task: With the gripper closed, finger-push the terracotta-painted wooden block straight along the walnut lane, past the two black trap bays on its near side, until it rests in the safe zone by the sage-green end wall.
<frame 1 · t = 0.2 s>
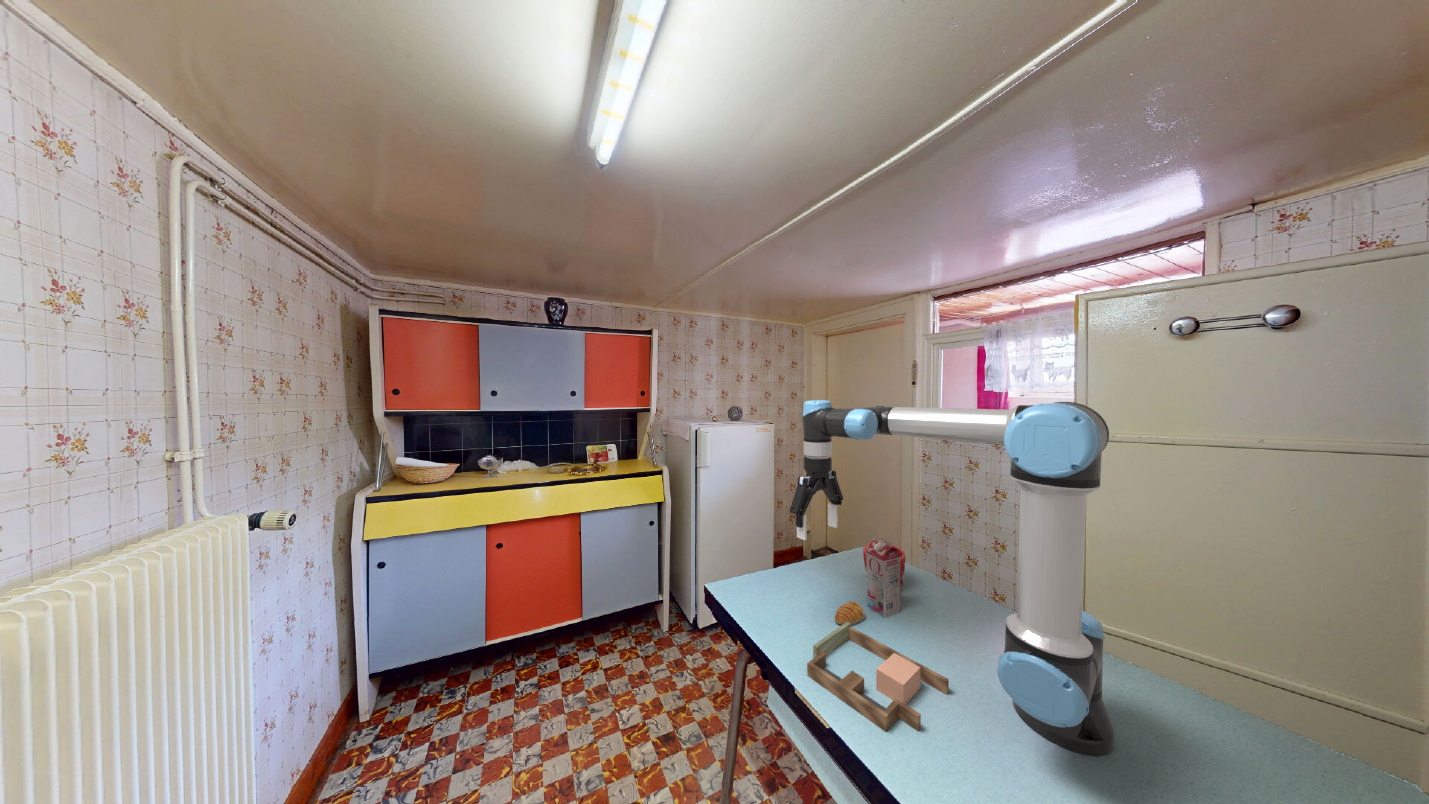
hand: (817, 532, 105), 28 cm above the table, fingers open, 13 cm apart
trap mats: (850, 693, 84), on the table
block: (898, 689, 85), on the table
juice carton: (883, 609, 116), on the table
plant pot: (883, 585, 130), on the table
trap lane: (883, 679, 88), on the table
pastry: (849, 619, 111), on the table
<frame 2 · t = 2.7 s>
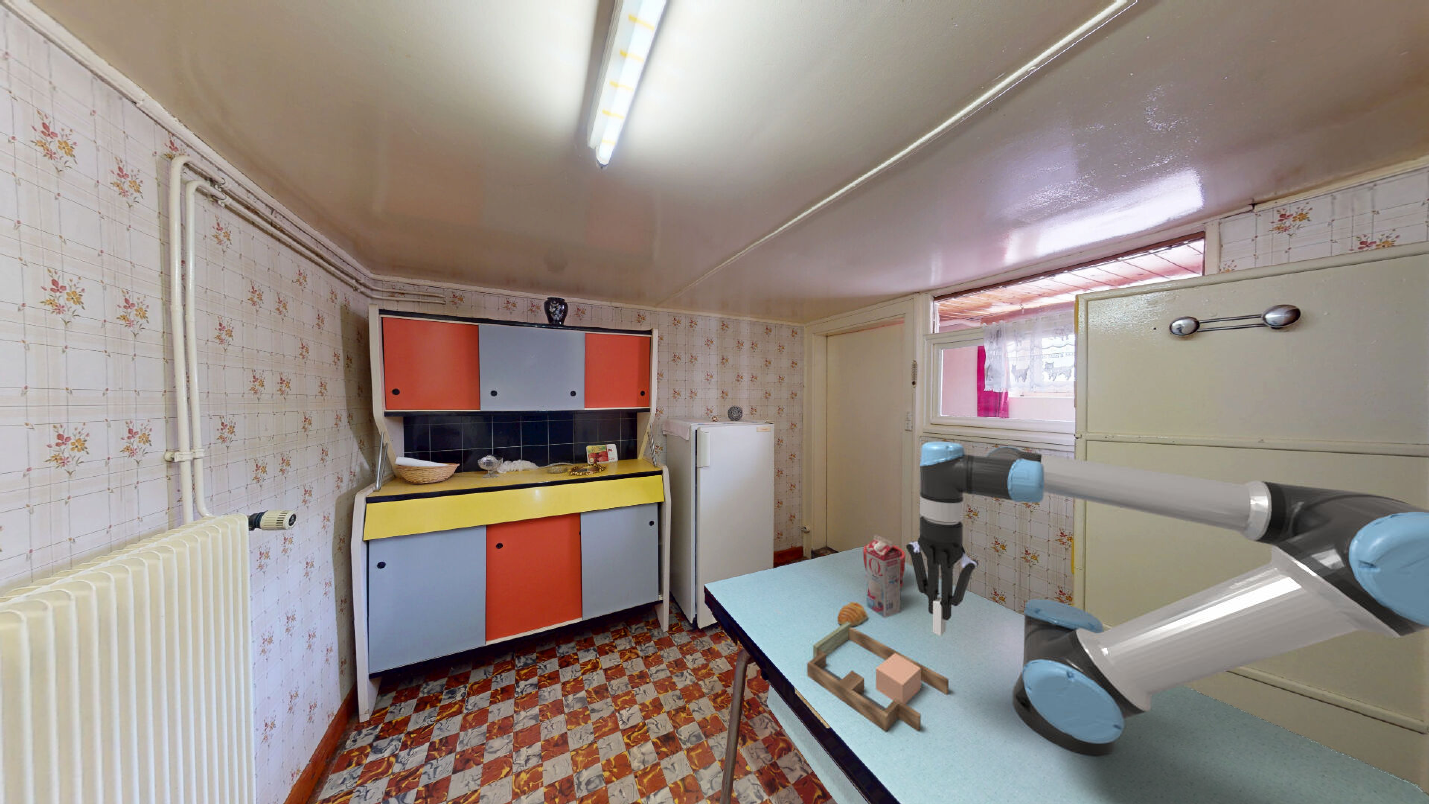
hand: (939, 631, 78), 17 cm above the table, fingers closed
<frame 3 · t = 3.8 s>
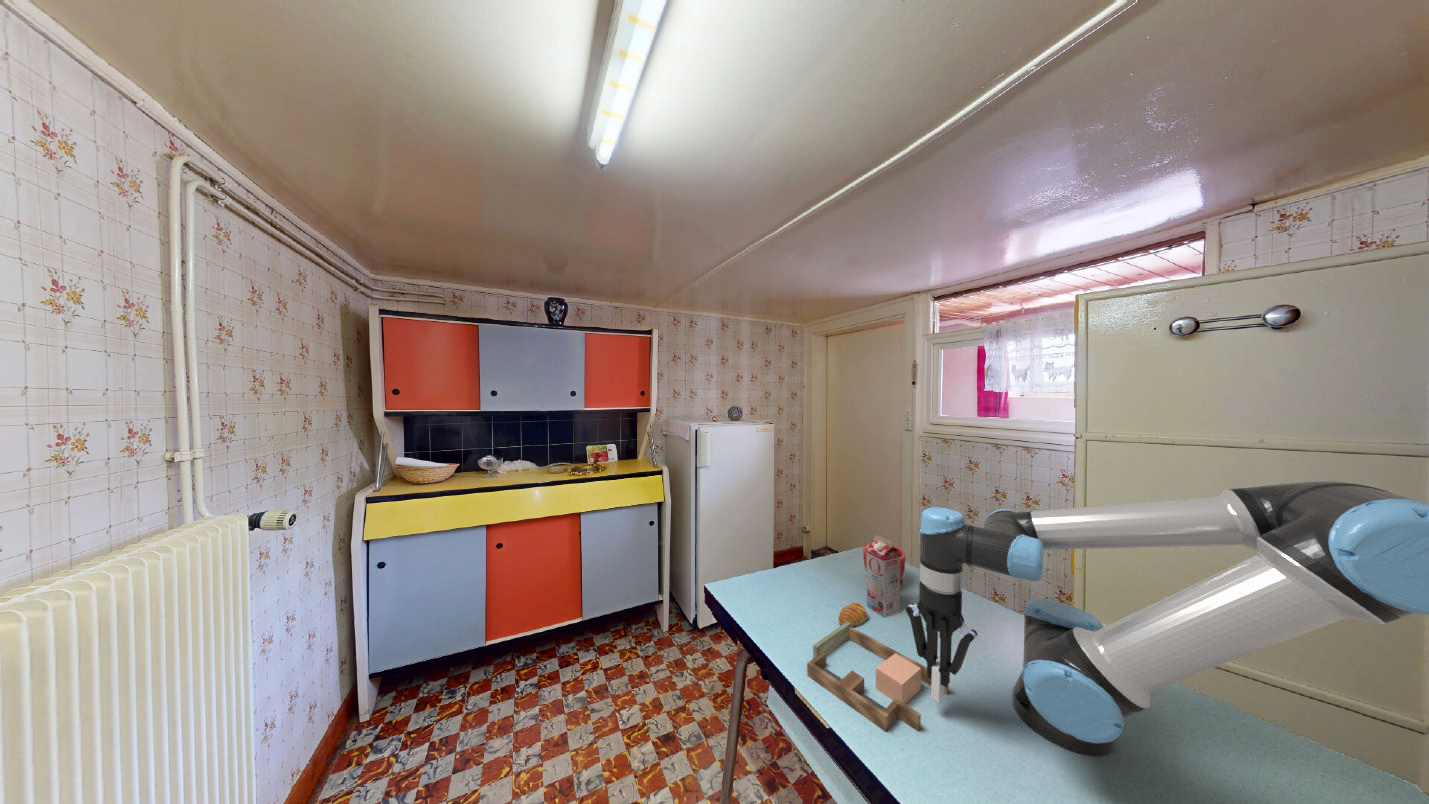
hand: (937, 696, 79), 4 cm above the table, fingers closed
nothing on the table moved.
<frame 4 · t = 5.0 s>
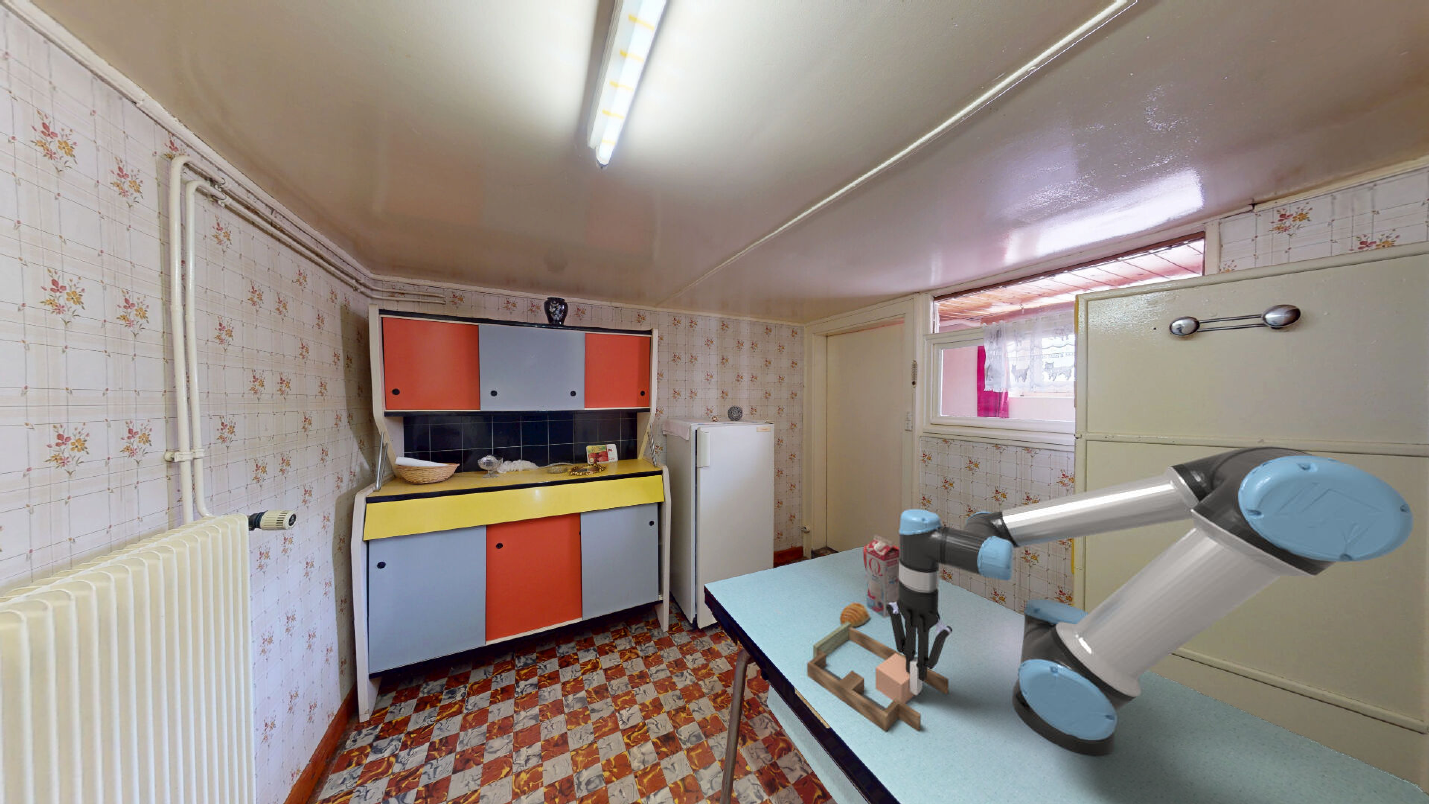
hand: (915, 690, 82), 2 cm above the table, fingers closed
block: (898, 689, 85), on the table, touching gripper
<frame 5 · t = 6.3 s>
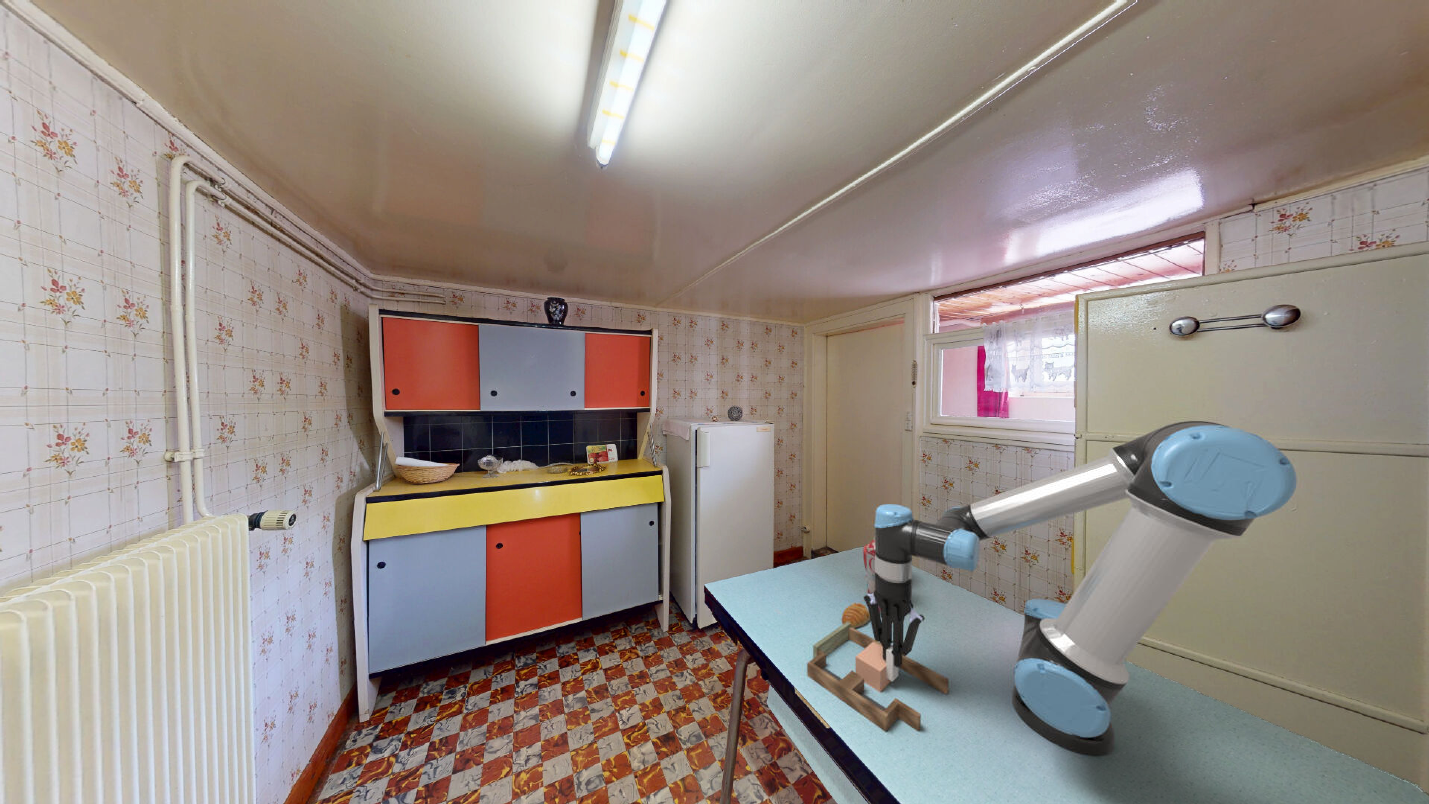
hand: (892, 676, 86), 2 cm above the table, fingers closed
block: (876, 676, 89), on the table, touching gripper
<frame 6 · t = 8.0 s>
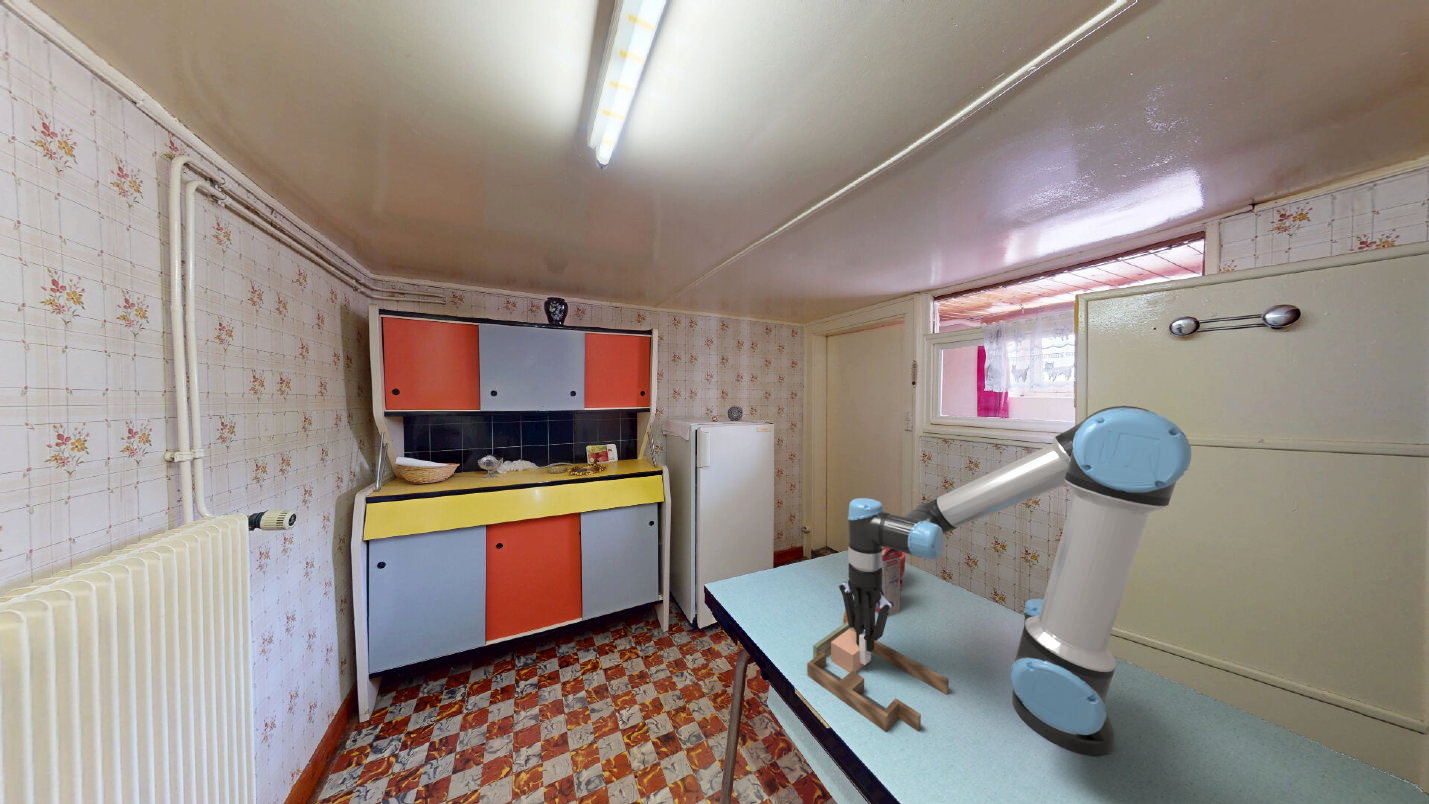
hand: (865, 660, 91), 2 cm above the table, fingers closed
block: (850, 660, 94), on the table
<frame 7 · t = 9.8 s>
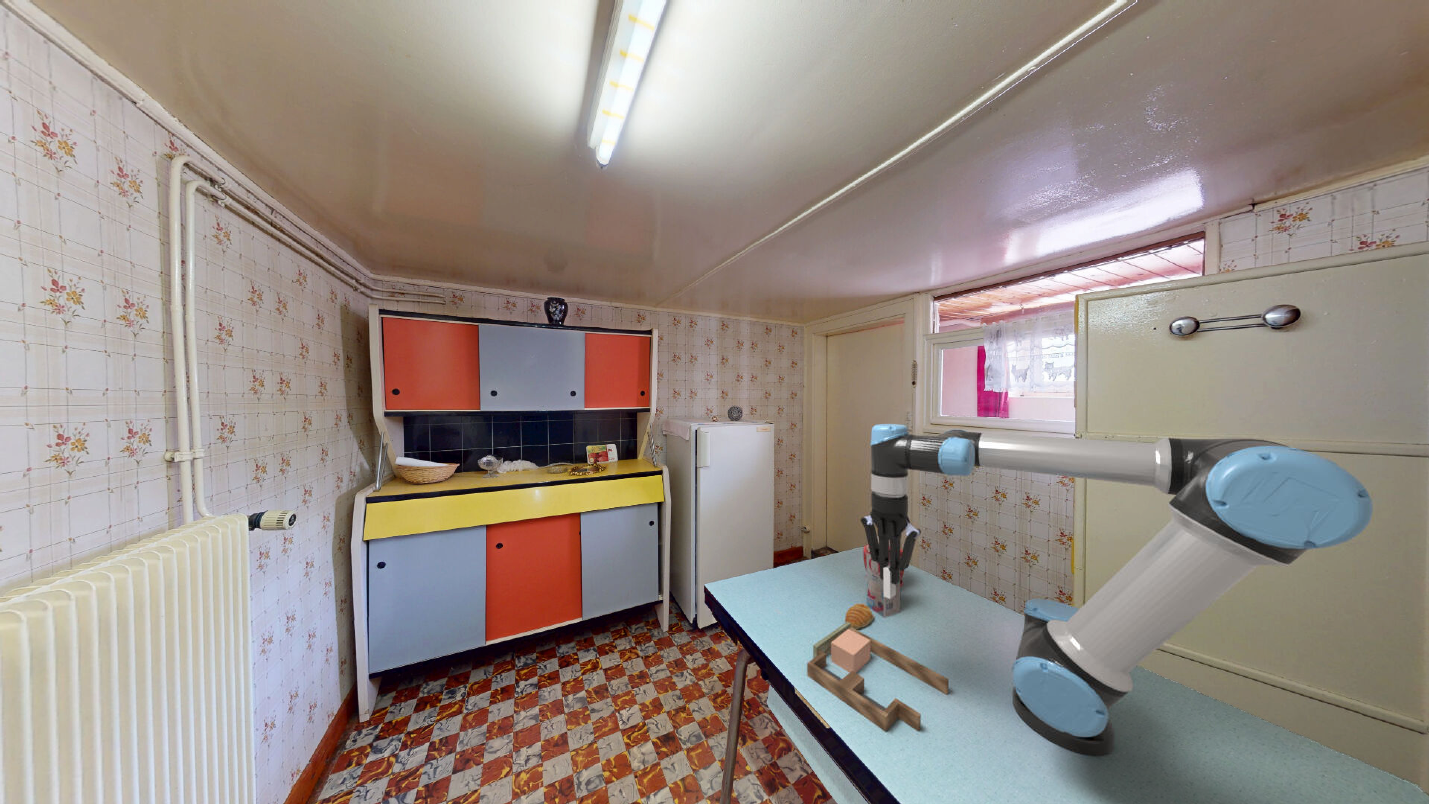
hand: (889, 595, 86), 20 cm above the table, fingers closed
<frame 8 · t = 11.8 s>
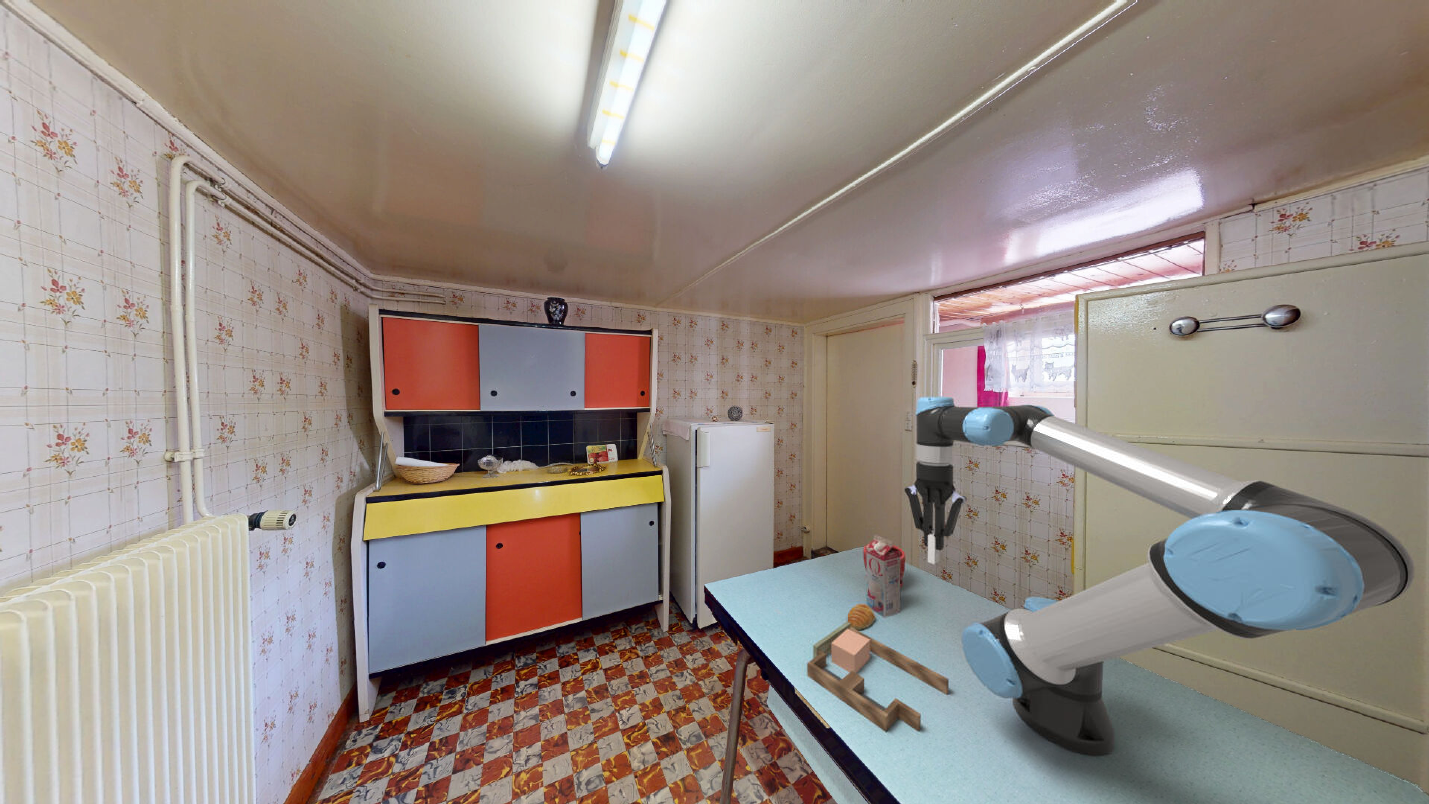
hand: (933, 561, 90), 26 cm above the table, fingers closed
at the end: block inside the target area (1.0 cm from its centre), on the table; block moved 11.8 cm from its start; block tilted 0° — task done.
